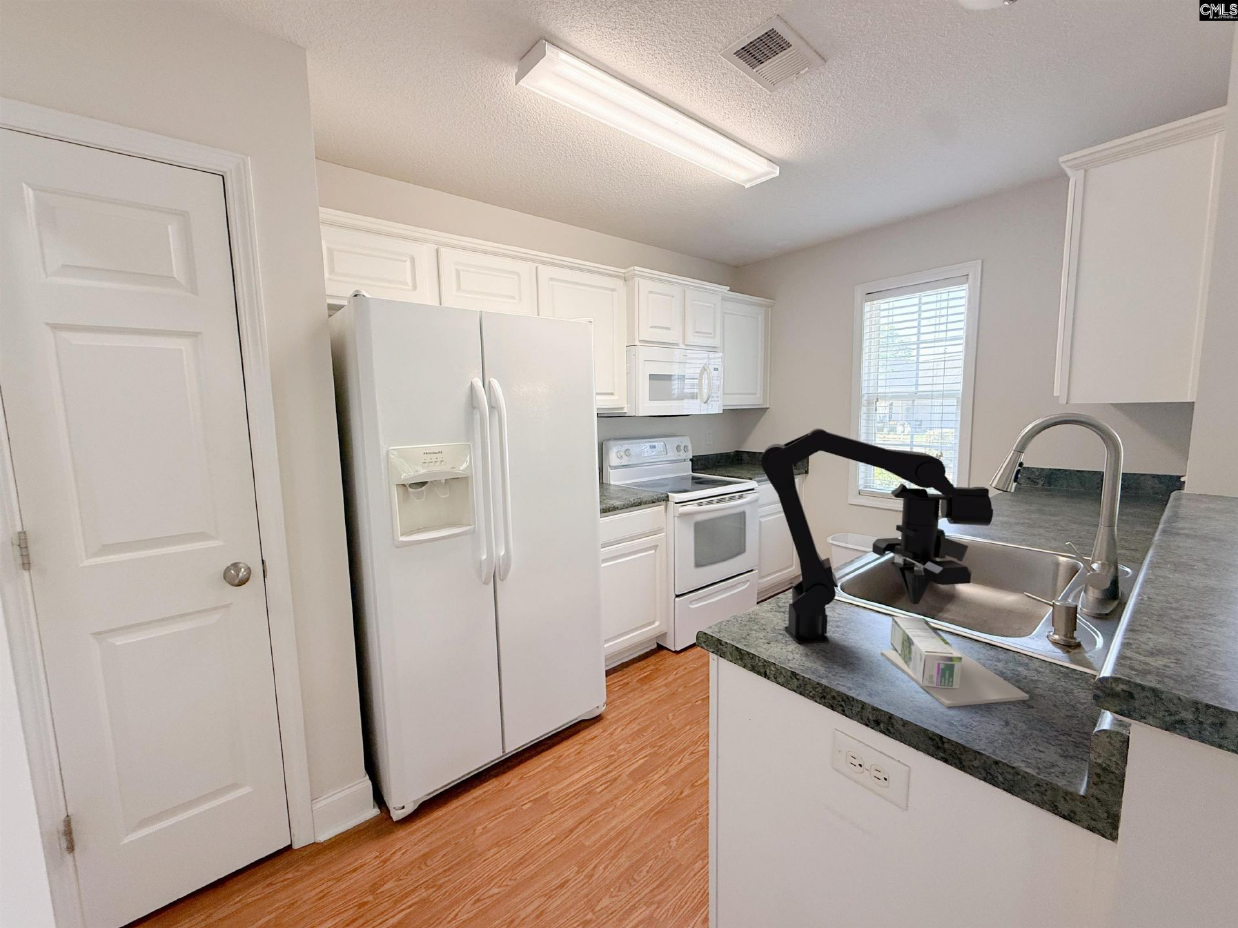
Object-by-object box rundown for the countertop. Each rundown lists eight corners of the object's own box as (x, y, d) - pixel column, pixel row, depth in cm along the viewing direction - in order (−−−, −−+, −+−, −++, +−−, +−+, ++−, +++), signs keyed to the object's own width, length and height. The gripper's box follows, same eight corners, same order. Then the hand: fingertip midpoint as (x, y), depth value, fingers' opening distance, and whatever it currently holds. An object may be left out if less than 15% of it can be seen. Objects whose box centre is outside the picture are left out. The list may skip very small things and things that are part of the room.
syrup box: (921, 645, 94) (962, 690, 80) (888, 644, 95) (922, 687, 81) (924, 617, 93) (965, 656, 79) (890, 615, 94) (925, 654, 80)
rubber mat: (946, 707, 76) (946, 703, 76) (880, 654, 92) (881, 651, 92) (1028, 699, 78) (1028, 695, 78) (950, 648, 94) (950, 645, 94)
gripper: (1004, 533, 82) (996, 622, 85) (924, 509, 101) (919, 582, 103) (942, 536, 81) (936, 627, 83) (872, 511, 100) (868, 586, 102)
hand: (914, 603), depth 93 cm, fingers closed
